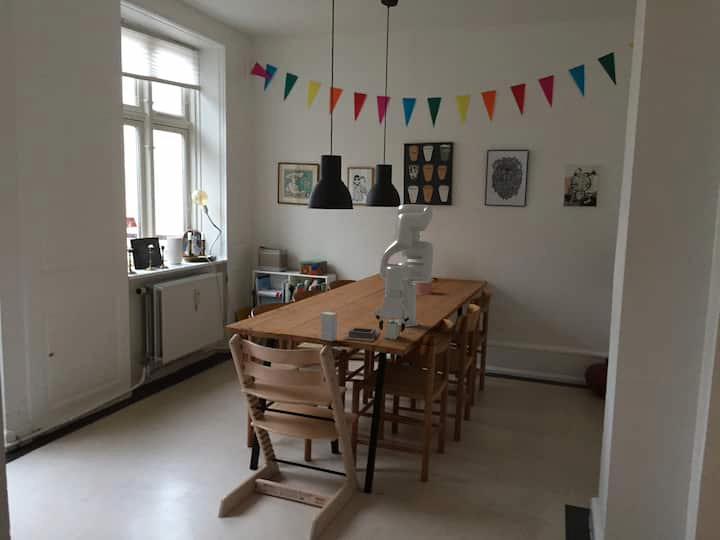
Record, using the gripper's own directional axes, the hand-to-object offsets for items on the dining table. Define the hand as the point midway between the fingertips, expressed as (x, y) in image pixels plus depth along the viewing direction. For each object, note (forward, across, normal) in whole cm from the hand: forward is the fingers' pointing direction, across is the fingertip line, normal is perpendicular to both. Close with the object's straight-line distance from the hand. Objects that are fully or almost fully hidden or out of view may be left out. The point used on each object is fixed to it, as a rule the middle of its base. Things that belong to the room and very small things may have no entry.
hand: (391, 330), depth 261 cm
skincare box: (+4, +26, +13) cm, 29 cm away
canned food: (+1, +1, -124) cm, 125 cm away
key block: (+3, 0, -1) cm, 3 cm away
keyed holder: (+3, +13, +3) cm, 14 cm away
